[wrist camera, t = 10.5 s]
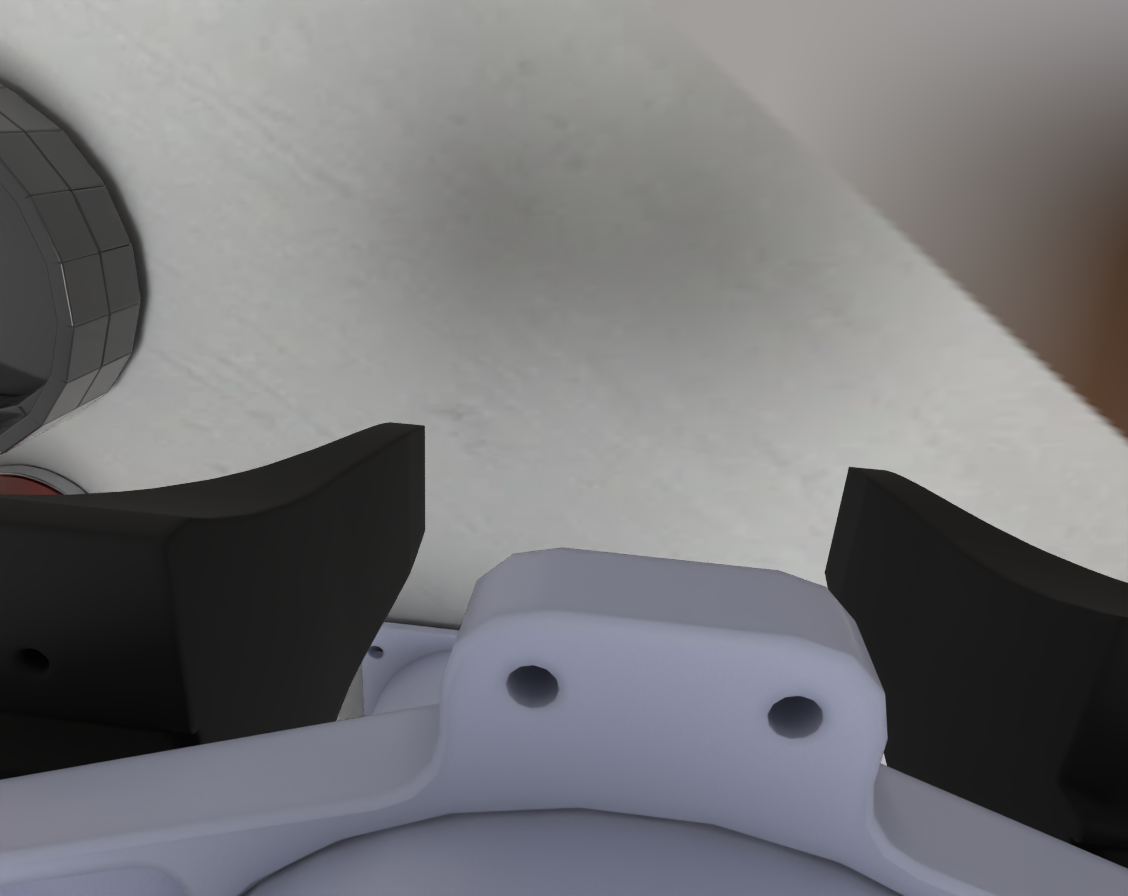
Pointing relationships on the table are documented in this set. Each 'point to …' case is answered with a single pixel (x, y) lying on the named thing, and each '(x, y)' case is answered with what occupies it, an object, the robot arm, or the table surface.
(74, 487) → the tin can
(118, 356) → the pan
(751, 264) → the table surface
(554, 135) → the table surface
